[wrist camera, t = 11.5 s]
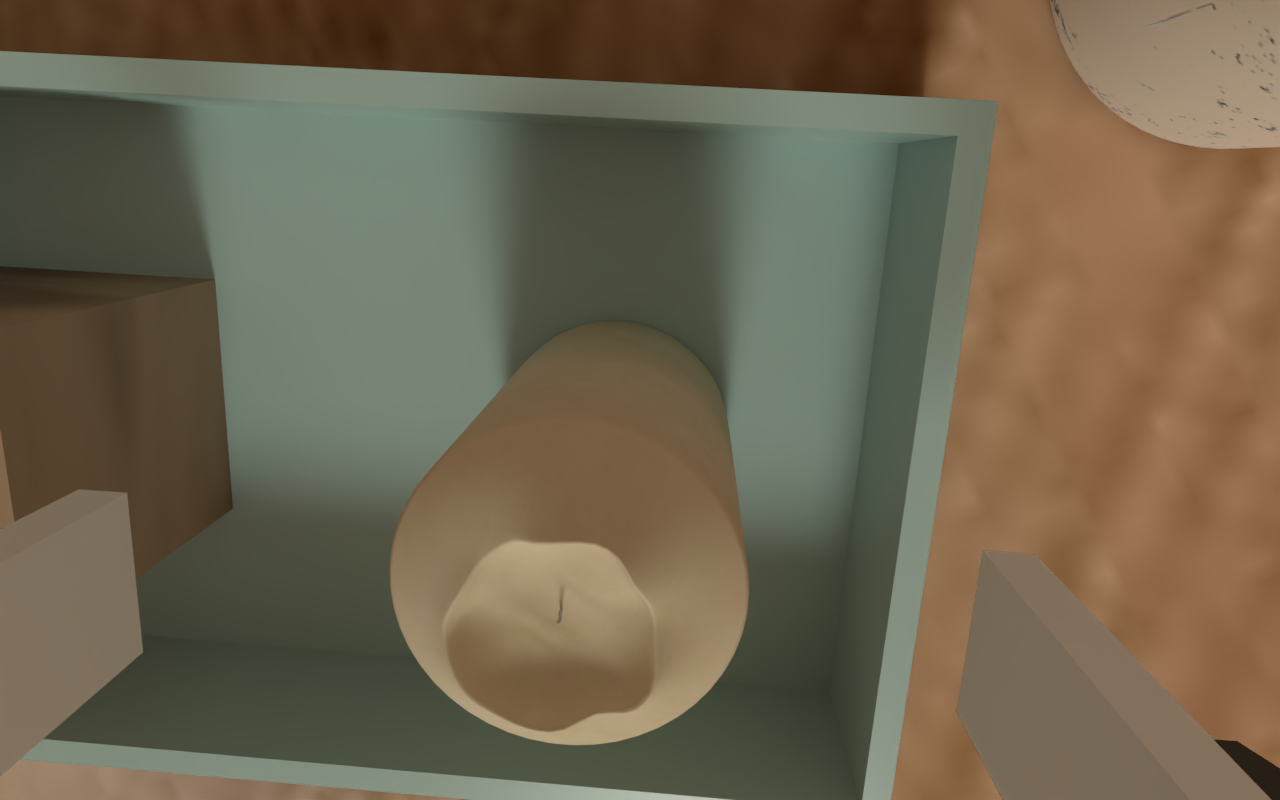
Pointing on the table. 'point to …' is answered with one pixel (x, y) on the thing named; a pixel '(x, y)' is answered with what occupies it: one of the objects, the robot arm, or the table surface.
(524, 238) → the tote
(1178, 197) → the table surface
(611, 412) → the candle
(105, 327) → the walnut block
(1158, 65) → the teacup with lid
